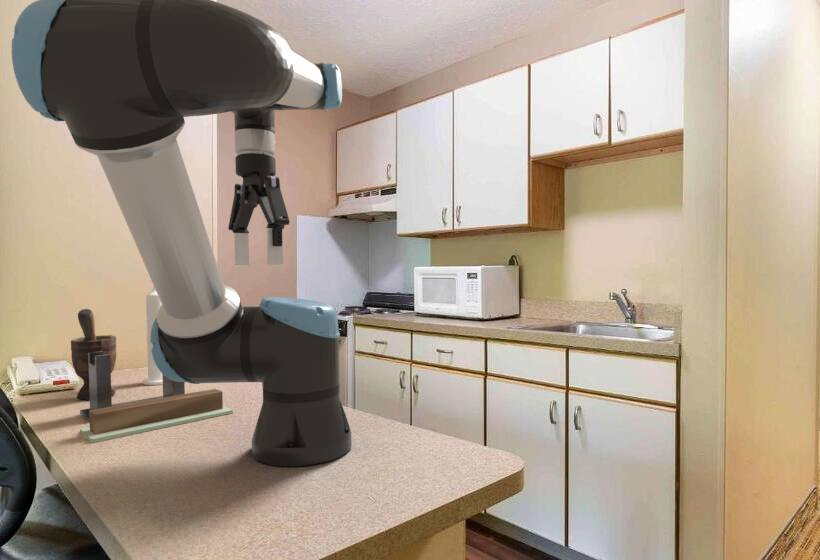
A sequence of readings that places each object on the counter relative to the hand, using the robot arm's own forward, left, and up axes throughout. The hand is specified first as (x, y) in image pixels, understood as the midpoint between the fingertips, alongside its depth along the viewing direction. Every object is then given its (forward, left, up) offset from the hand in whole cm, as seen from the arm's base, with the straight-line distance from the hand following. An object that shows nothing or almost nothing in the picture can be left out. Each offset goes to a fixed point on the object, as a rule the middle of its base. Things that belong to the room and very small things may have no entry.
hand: (257, 264), depth 103 cm
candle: (+42, +6, -29) cm, 51 cm away
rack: (+19, +17, -29) cm, 38 cm away
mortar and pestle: (+35, +21, -29) cm, 50 cm away
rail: (+6, +17, -28) cm, 33 cm away
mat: (+6, +17, -29) cm, 34 cm away
